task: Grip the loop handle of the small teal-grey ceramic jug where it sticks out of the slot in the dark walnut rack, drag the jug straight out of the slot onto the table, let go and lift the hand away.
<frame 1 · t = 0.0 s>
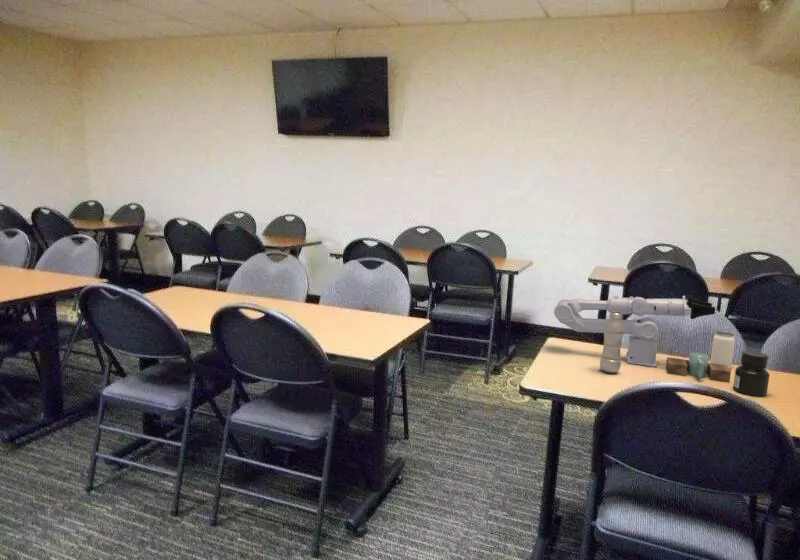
hand: (713, 308, 189), 22 cm above the table, tool horizontal, fingers open, 7 cm apart
ink bottle: (749, 392, 174), on the table
rack: (696, 374, 188), on the table
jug: (696, 375, 188), on the table
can: (720, 367, 199), on the table
plastic bottle: (609, 372, 187), on the table
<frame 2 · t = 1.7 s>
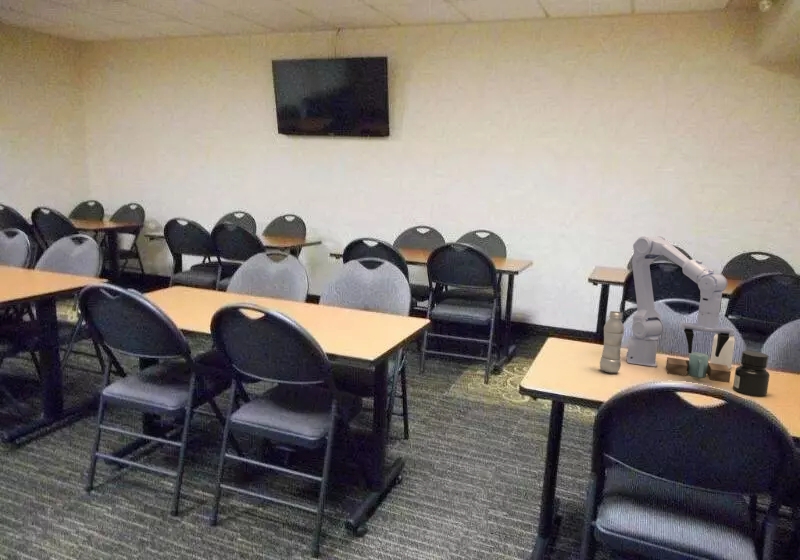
hand: (703, 354, 180), 9 cm above the table, tool pointing down, fingers open, 7 cm apart
nothing on the table moved.
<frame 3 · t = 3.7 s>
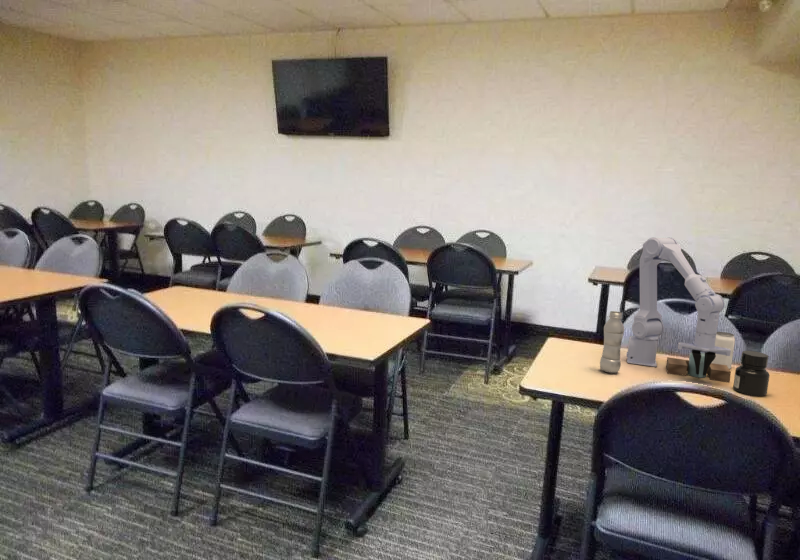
hand: (700, 374, 181), 2 cm above the table, tool pointing down, fingers closed on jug
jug: (696, 375, 188), on the table, touching gripper
everything else where it was.
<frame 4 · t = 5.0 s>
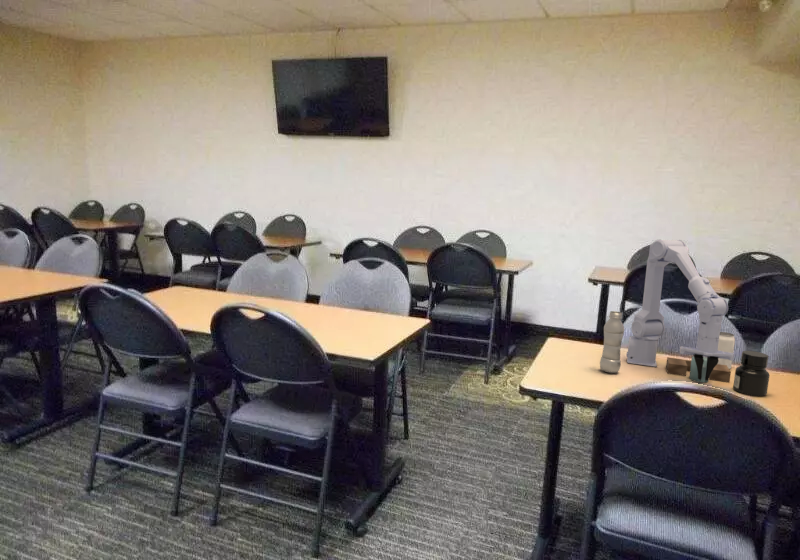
hand: (702, 379, 176), 2 cm above the table, tool pointing down, fingers closed on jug
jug: (698, 379, 183), on the table, touching gripper
everything else where it was.
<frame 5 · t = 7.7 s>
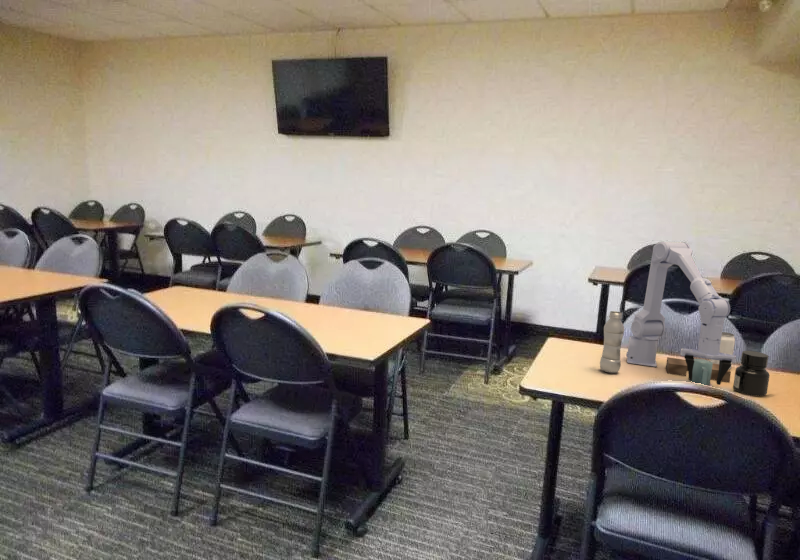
hand: (704, 381, 173), 3 cm above the table, tool pointing down, fingers open, 7 cm apart
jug: (699, 382, 180), on the table
everything else where it was.
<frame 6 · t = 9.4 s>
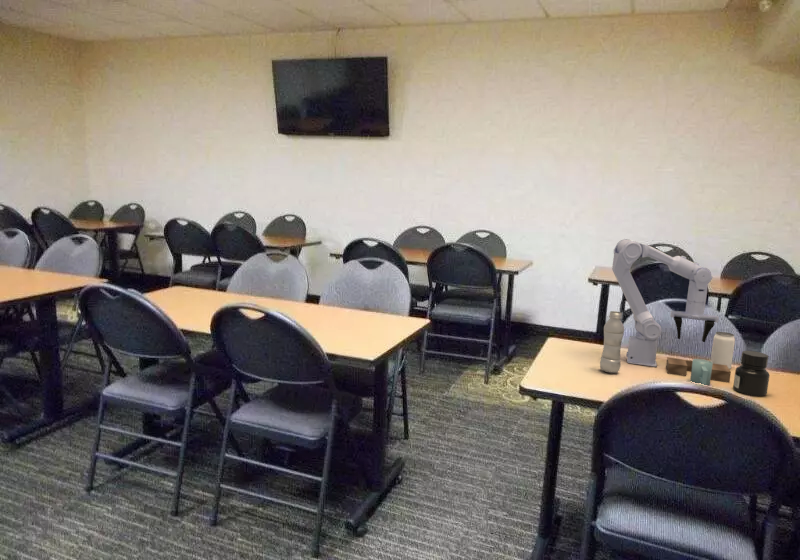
hand: (691, 339, 197), 9 cm above the table, tool pointing down, fingers open, 7 cm apart
nothing on the table moved.
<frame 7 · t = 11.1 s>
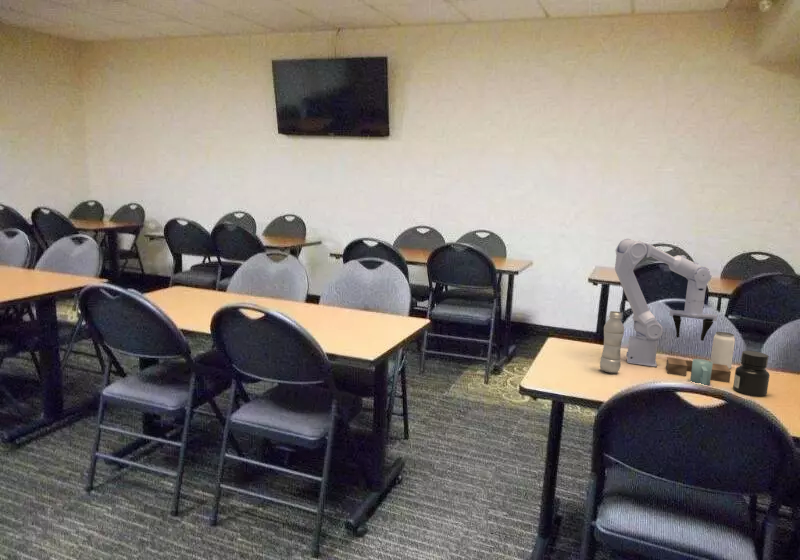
hand: (689, 338, 199), 9 cm above the table, tool pointing down, fingers open, 7 cm apart
nothing on the table moved.
at the end: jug inside the target area (1.0 cm from its centre), on the table; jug tilted 0°; the gripper is holding nothing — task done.
